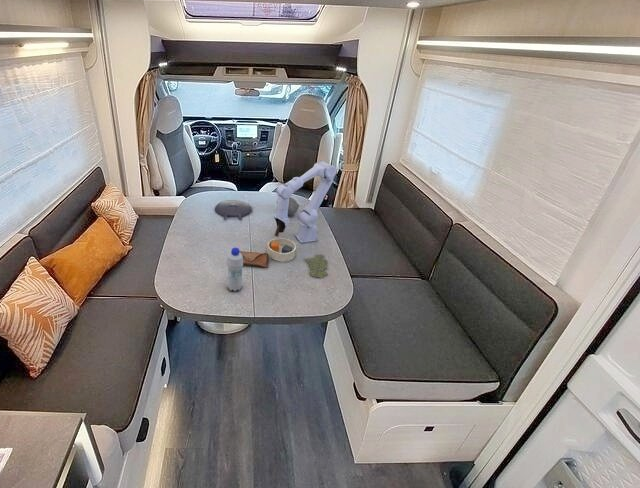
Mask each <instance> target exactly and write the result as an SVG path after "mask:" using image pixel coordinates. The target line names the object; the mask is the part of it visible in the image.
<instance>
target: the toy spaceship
mask: <svg viewBox="0 0 640 488" xmlns="http://www.w3.org/2000/svg"><path fill="white" fill-rule="evenodd" d="M252 210H253V208H252V206H251V205H250V204H249V203H248V202H245V201H243V200H238V199H227V200H224V201H223V200H222V201H221V202H219V203H217V204H216V205H215V207H214V211H215V213H216V214H218V215H219V216H222V218H223V220H226V219H227V218H228V217H236V218H238V220H240V221H242V220H243V218H244V217H246V216H248V215H250V214H251V213H252Z"/></svg>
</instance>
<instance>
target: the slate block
mask: <svg viewBox="0 0 640 488" xmlns="http://www.w3.org/2000/svg"><path fill="white" fill-rule="evenodd" d="M289 252H292V247H290V246H287V245H285V246H284V247H283V248H282V253H289Z"/></svg>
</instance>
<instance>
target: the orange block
mask: <svg viewBox="0 0 640 488" xmlns="http://www.w3.org/2000/svg"><path fill="white" fill-rule="evenodd" d="M271 249H272V250H273V251H276V252H279V242H272V243H271Z"/></svg>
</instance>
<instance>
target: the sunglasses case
mask: <svg viewBox="0 0 640 488" xmlns="http://www.w3.org/2000/svg"><path fill="white" fill-rule="evenodd" d="M240 253H241V254H242V256H243V266H246V267H252V268H253V267H254V268H266V269H267V268H268V266H269V256H268V254H267V252H264V253H263V252H255V251H244V250H243V251H241V250H240ZM243 266H242V267H243Z"/></svg>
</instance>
